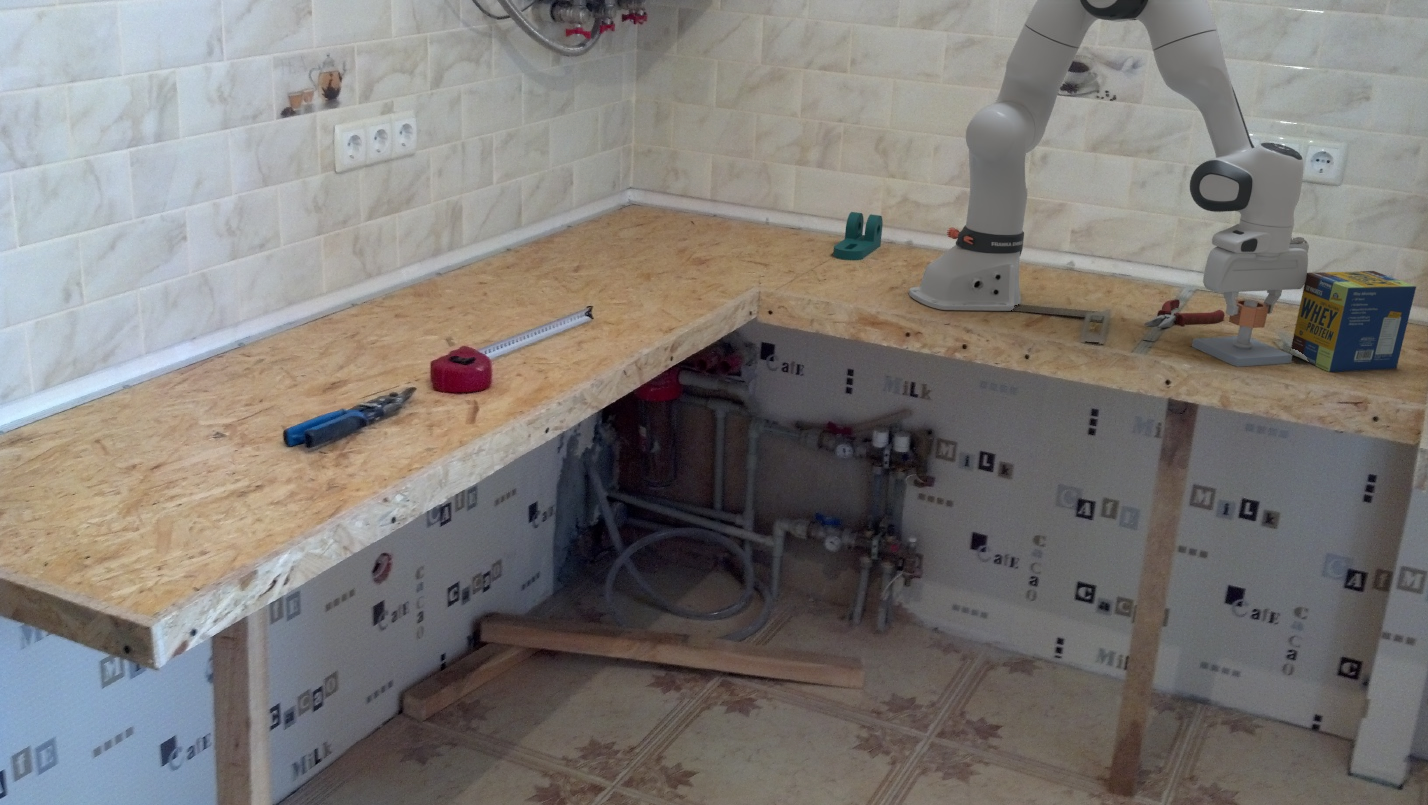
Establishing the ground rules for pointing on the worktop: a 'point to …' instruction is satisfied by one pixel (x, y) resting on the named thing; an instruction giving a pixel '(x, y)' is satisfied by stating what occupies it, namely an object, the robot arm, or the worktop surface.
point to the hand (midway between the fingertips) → (1248, 314)
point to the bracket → (859, 237)
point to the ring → (1250, 315)
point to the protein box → (1352, 320)
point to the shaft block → (1242, 348)
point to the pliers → (1183, 316)
